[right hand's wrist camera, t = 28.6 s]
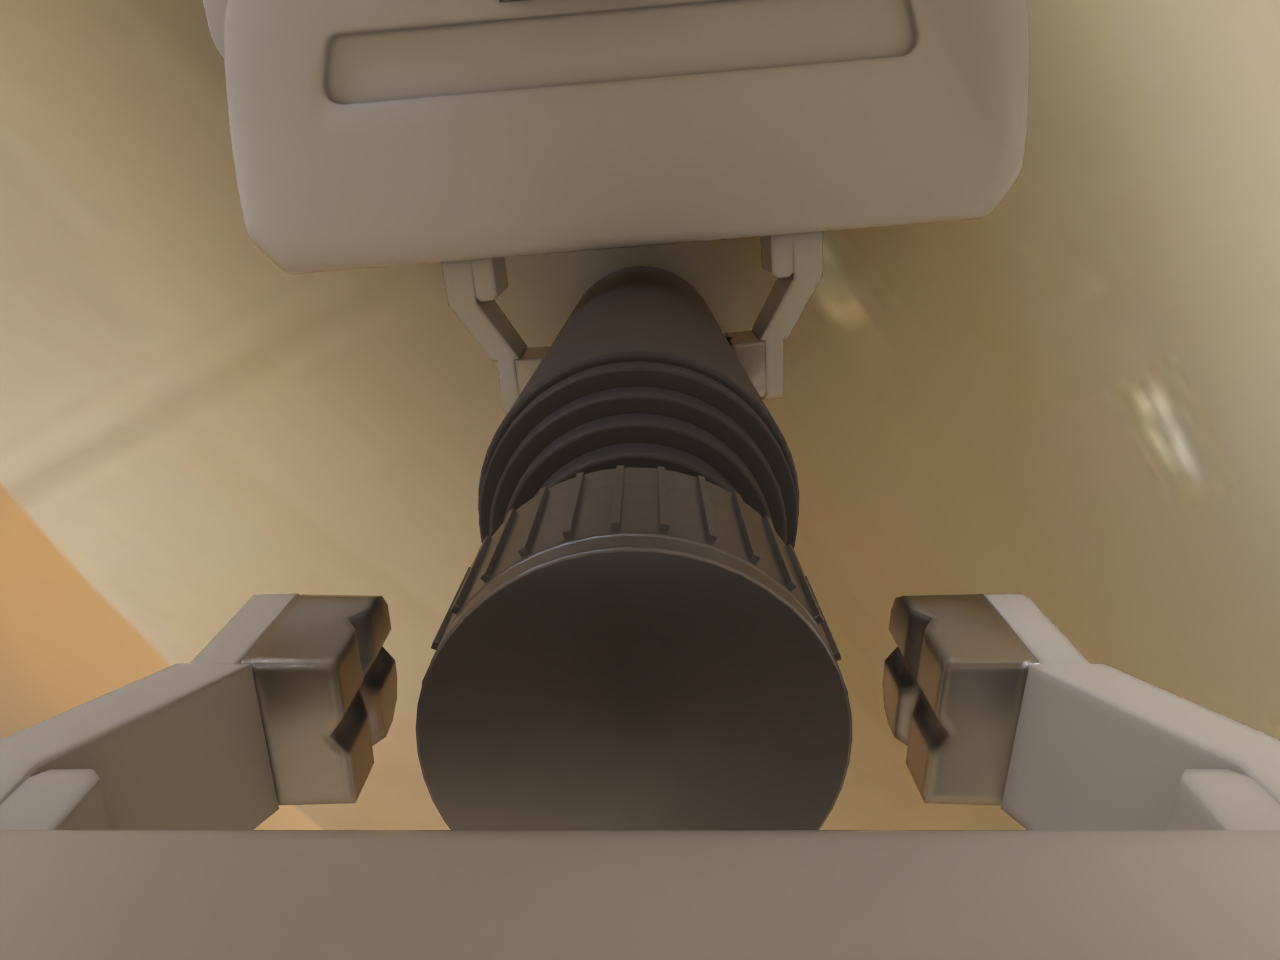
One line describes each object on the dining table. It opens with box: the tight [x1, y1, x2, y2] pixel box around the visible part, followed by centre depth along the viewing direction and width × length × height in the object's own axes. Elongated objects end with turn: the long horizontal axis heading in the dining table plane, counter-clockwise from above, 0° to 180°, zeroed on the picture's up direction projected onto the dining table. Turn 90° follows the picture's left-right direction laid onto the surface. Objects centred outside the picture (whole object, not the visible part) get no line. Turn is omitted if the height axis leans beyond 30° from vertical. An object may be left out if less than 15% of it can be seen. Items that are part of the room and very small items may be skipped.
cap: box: [416, 465, 852, 830], centre depth 9 cm, size 4×4×2 cm
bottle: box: [478, 267, 799, 549], centre depth 19 cm, size 5×5×22 cm
